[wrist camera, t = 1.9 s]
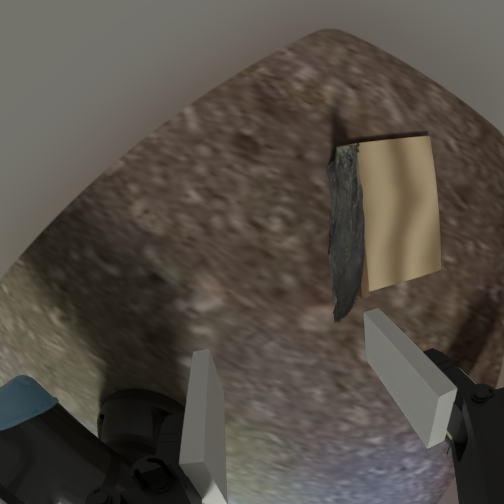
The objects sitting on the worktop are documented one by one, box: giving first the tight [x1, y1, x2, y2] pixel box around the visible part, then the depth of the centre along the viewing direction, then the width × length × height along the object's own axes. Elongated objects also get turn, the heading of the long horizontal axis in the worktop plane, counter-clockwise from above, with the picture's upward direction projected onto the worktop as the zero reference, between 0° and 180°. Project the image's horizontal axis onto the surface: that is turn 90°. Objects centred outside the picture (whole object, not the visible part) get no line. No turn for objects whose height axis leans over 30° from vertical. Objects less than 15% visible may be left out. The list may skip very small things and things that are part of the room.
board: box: [336, 136, 441, 299], centre depth 36 cm, size 13×18×2 cm
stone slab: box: [327, 143, 365, 322], centre depth 32 cm, size 18×2×10 cm, turn 3°
